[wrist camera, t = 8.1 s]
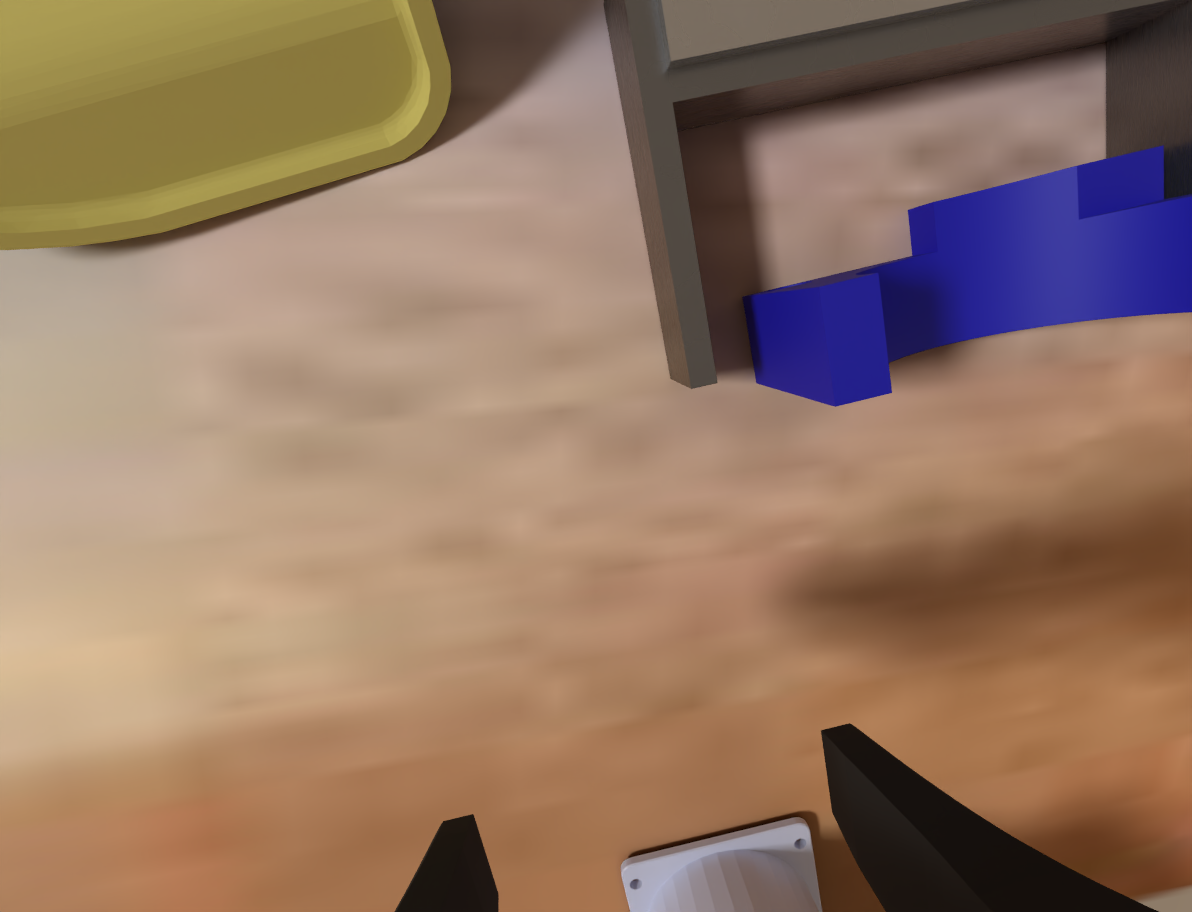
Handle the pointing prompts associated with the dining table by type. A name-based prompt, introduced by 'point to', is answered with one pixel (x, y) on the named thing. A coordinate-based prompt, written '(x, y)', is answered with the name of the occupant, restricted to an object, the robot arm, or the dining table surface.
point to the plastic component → (201, 107)
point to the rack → (858, 91)
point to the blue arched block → (984, 277)
